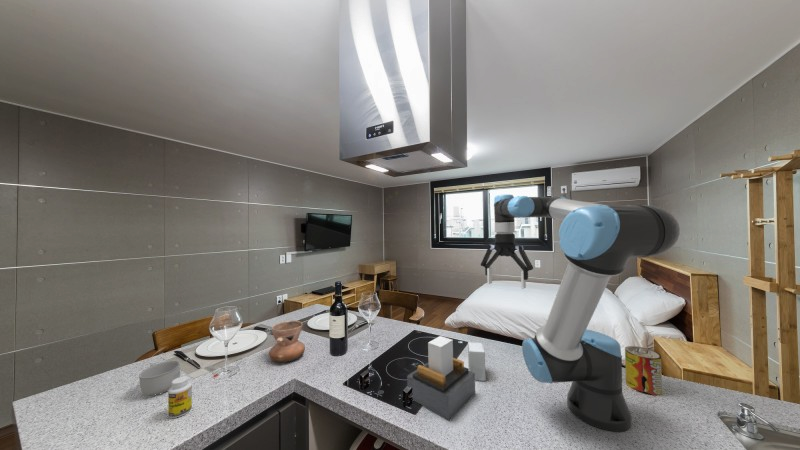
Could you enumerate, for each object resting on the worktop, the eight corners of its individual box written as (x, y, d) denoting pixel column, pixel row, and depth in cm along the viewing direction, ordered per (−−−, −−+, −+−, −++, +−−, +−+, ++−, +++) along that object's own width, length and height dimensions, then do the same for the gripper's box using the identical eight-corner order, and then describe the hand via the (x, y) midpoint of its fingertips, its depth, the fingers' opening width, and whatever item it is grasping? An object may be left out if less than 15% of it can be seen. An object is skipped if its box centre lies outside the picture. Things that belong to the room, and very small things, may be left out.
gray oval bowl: (182, 389, 93) (182, 366, 93) (139, 404, 85) (139, 380, 85) (176, 375, 102) (176, 354, 102) (137, 387, 94) (137, 365, 94)
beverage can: (625, 388, 89) (624, 352, 89) (626, 376, 95) (625, 343, 95) (662, 399, 83) (661, 361, 83) (661, 386, 89) (660, 351, 89)
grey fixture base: (475, 394, 87) (474, 362, 87) (449, 420, 75) (448, 384, 75) (435, 376, 98) (435, 348, 98) (407, 397, 86) (406, 365, 86)
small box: (485, 381, 94) (485, 352, 94) (469, 380, 95) (469, 351, 95) (483, 369, 102) (482, 342, 102) (468, 368, 103) (467, 341, 103)
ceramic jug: (295, 367, 106) (295, 332, 107) (260, 367, 106) (260, 332, 107) (311, 348, 124) (311, 317, 125) (281, 348, 124) (281, 317, 125)
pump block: (453, 369, 87) (452, 339, 88) (441, 379, 82) (440, 347, 82) (440, 364, 91) (440, 335, 91) (428, 373, 86) (428, 342, 86)
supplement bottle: (163, 420, 77) (163, 386, 78) (175, 408, 83) (175, 375, 83) (185, 417, 79) (185, 383, 79) (195, 405, 84) (195, 373, 84)
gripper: (541, 232, 100) (542, 288, 100) (480, 233, 117) (481, 280, 117) (535, 233, 95) (536, 292, 94) (472, 233, 112) (473, 283, 111)
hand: (505, 285), depth 106 cm, fingers open, 13 cm apart
